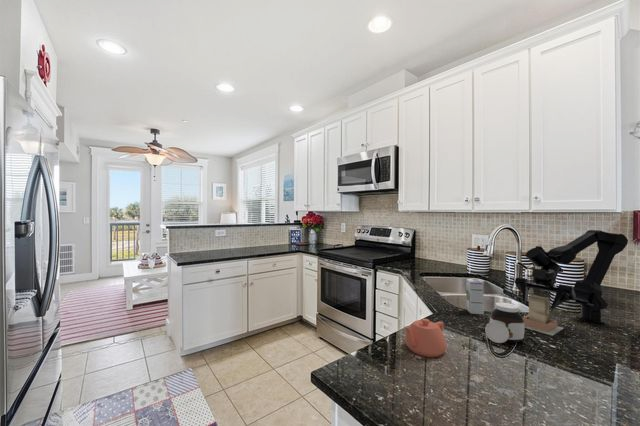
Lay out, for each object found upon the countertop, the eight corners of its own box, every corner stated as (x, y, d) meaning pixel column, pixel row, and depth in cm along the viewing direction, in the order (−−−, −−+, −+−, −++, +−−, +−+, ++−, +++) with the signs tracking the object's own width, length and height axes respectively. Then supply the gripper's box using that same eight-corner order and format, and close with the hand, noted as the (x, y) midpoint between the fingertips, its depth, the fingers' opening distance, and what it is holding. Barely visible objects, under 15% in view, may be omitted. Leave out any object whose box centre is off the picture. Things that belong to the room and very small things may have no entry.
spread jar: (521, 336, 100) (521, 304, 100) (529, 350, 90) (529, 314, 90) (482, 330, 105) (482, 299, 105) (486, 342, 95) (486, 308, 95)
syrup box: (484, 314, 122) (484, 281, 123) (469, 313, 124) (469, 280, 124) (479, 310, 128) (479, 278, 128) (465, 309, 129) (465, 278, 129)
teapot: (458, 351, 88) (459, 321, 88) (418, 365, 79) (418, 332, 80) (427, 337, 99) (427, 310, 99) (388, 347, 90) (389, 318, 90)
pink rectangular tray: (527, 319, 118) (527, 312, 118) (563, 328, 108) (563, 321, 108) (514, 324, 111) (514, 317, 111) (552, 335, 101) (552, 327, 101)
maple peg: (533, 322, 113) (533, 295, 113) (549, 326, 109) (549, 298, 109) (528, 324, 110) (528, 297, 110) (544, 329, 106) (544, 300, 106)
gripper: (516, 258, 120) (504, 287, 113) (573, 264, 104) (563, 298, 98) (523, 274, 124) (512, 303, 118) (579, 283, 109) (570, 317, 102)
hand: (537, 305), depth 109 cm, fingers open, 9 cm apart
